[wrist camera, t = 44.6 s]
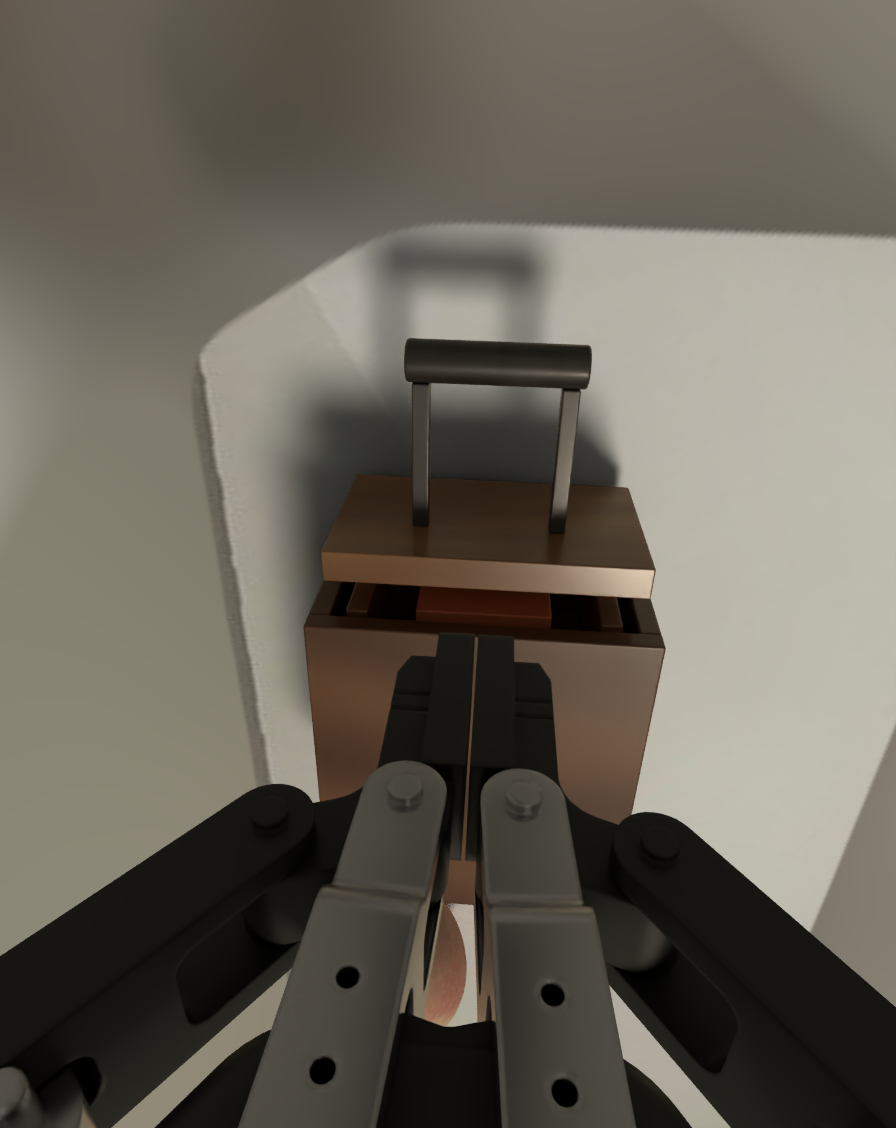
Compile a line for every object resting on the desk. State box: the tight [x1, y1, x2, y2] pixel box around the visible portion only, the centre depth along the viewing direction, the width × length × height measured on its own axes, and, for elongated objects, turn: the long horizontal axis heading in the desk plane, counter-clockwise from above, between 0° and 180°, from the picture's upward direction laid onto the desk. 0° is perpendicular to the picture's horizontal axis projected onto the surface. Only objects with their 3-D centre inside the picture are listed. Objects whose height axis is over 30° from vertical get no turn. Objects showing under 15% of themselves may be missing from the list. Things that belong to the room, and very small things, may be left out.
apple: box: [424, 902, 467, 1027], centre depth 43 cm, size 8×8×8 cm
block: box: [416, 586, 552, 629], centre depth 30 cm, size 5×5×5 cm
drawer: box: [321, 338, 656, 633], centre depth 30 cm, size 20×11×7 cm, turn 179°
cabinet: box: [304, 580, 666, 905], centre depth 33 cm, size 15×13×9 cm
